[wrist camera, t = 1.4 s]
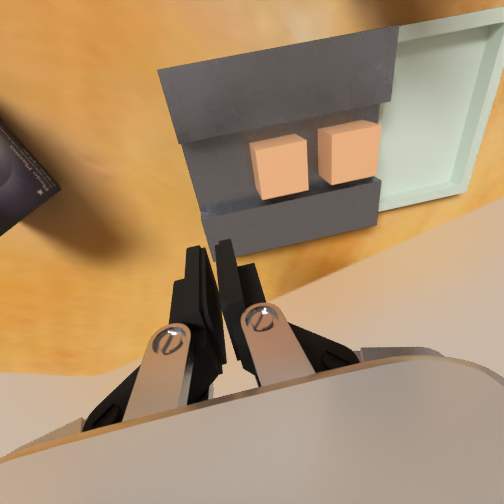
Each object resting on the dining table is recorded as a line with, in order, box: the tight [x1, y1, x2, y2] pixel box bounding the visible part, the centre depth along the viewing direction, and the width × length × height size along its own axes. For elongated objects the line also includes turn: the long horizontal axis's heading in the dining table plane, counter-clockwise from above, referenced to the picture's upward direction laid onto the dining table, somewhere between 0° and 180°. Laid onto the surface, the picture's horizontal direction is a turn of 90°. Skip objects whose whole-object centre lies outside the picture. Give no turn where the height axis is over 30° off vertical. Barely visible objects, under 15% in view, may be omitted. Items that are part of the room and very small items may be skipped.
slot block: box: [157, 25, 399, 262], centre depth 25 cm, size 17×16×4 cm
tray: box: [375, 7, 504, 212], centre depth 27 cm, size 12×16×2 cm
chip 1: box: [249, 134, 309, 200], centre depth 23 cm, size 4×4×3 cm
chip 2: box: [318, 120, 382, 185], centre depth 23 cm, size 4×4×3 cm
